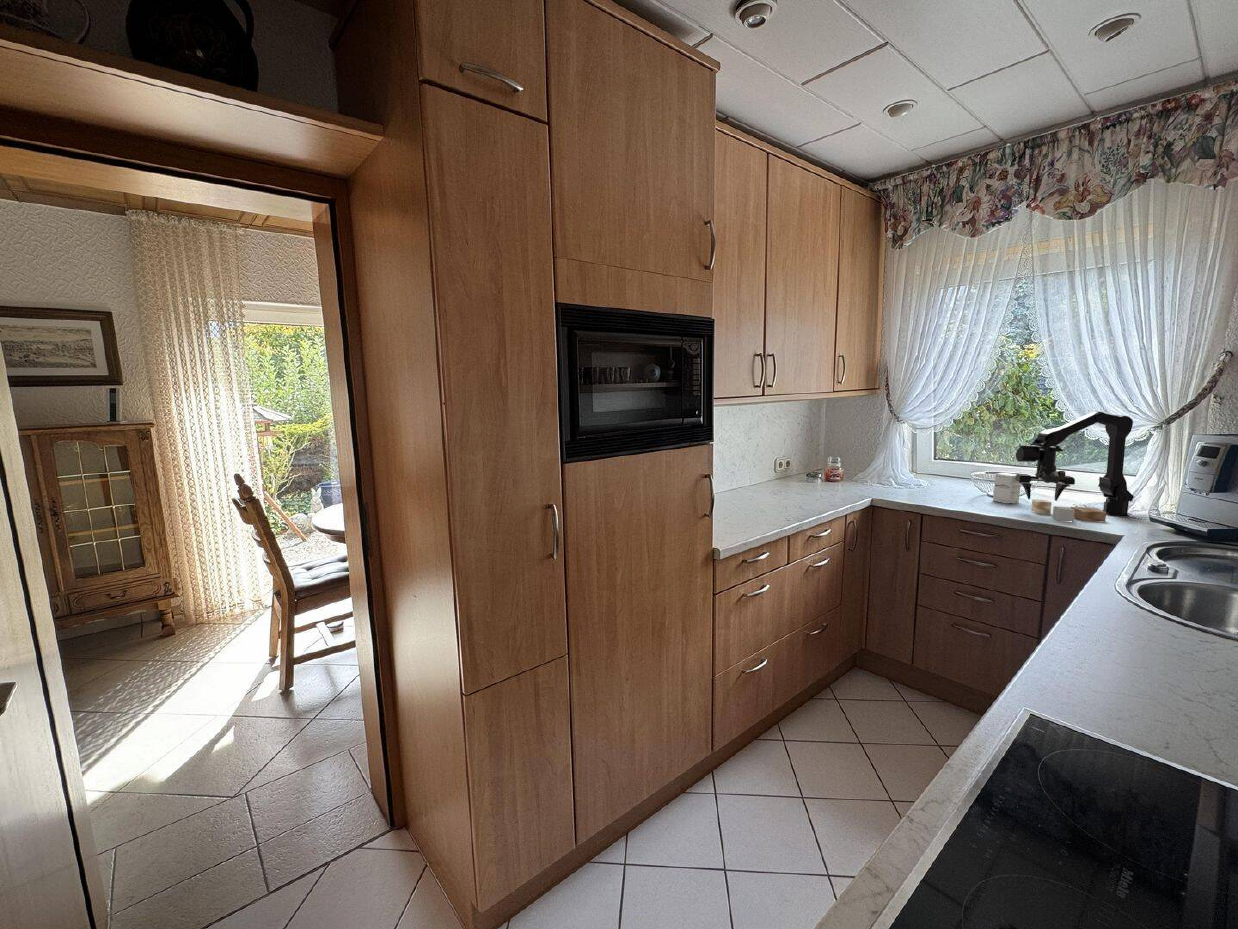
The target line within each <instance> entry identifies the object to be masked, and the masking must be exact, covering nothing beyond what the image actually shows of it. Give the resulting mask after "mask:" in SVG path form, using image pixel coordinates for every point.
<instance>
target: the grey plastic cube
mask: <svg viewBox="0 0 1238 929" xmlns="http://www.w3.org/2000/svg"><path fill="white" fill-rule="evenodd" d="M1074 512H1075V510H1074V509H1072V508H1071V506H1059V505H1057V506H1056V505H1054V506H1053V510H1052V517H1051V518H1053V519H1052V520H1054V521H1055V522H1058V521H1072V522H1071V523H1074V521H1075V520H1074V519H1075V518H1074Z"/></svg>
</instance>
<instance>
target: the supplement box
mask: <svg viewBox="0 0 1238 929" xmlns="http://www.w3.org/2000/svg"><path fill="white" fill-rule="evenodd" d="M1017 474H1018V473H1010V472H999V473H998V472H996V473H995V474H994V475H995V476H994V486H993V494H992V495H993V496H992V502H999V503H1002V504H1007V503H1013V504H1018V503H1019V502H1020V494H1021V486H1022V484H1021V483H1019V482H1018V481H1016V480H1015V476H1016V475H1017Z"/></svg>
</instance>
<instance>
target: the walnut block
mask: <svg viewBox="0 0 1238 929" xmlns="http://www.w3.org/2000/svg"><path fill="white" fill-rule="evenodd" d="M1070 508H1072V509H1074V510H1075V512H1074V517H1075V518H1074V519H1076V518H1077V519H1076V520H1078V519H1079V520H1078V521H1080V520H1081V522H1082V521H1083V522H1098V521H1105V522H1106V517H1107V514H1106V512H1104V511H1103V509H1098V508H1096V507H1088V506H1087V507H1086V506H1084V507H1081V506H1070Z"/></svg>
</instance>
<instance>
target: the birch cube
mask: <svg viewBox="0 0 1238 929" xmlns="http://www.w3.org/2000/svg"><path fill="white" fill-rule="evenodd" d="M1030 510H1032V511H1034V512H1035V513H1034V512H1033V513H1034V514H1037V513H1043V514H1042V515H1051V510H1052V501H1050V500H1048V499H1037V498H1033V499H1031V509H1030ZM1032 511H1031V512H1032Z"/></svg>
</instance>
